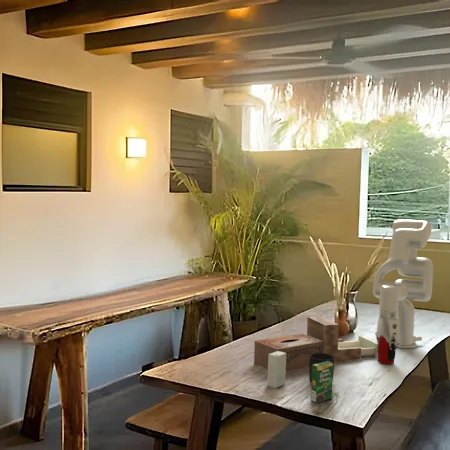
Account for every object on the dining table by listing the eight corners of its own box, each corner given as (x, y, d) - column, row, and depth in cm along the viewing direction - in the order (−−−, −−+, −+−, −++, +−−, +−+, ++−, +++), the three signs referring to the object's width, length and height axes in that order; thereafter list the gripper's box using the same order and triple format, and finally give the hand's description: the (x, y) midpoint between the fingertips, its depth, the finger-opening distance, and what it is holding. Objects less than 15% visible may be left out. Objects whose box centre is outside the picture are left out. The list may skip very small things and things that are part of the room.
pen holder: (338, 384, 218) (339, 358, 218) (320, 388, 213) (321, 361, 213) (321, 376, 226) (322, 351, 226) (303, 380, 221) (304, 354, 221)
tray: (362, 347, 269) (362, 335, 268) (380, 356, 255) (381, 343, 254) (326, 350, 262) (326, 337, 262) (343, 359, 248) (343, 346, 248)
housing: (341, 349, 266) (343, 315, 265) (360, 359, 251) (362, 323, 250) (306, 352, 260) (307, 316, 259) (323, 362, 245) (324, 325, 244)
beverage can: (394, 366, 243) (396, 338, 242) (378, 364, 244) (379, 336, 243) (393, 361, 249) (394, 334, 248) (377, 360, 251) (378, 332, 250)
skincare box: (276, 381, 219) (277, 350, 218) (285, 384, 216) (287, 352, 215) (266, 385, 214) (267, 353, 213) (276, 388, 211) (277, 356, 210)
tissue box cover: (276, 374, 229) (277, 349, 228) (253, 364, 240) (254, 340, 240) (323, 364, 243) (324, 340, 243) (300, 355, 255) (300, 333, 254)
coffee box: (315, 404, 197) (317, 366, 196) (309, 401, 200) (311, 363, 199) (332, 399, 202) (334, 362, 201) (326, 397, 204) (328, 360, 203)
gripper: (408, 318, 238) (406, 361, 239) (383, 309, 255) (381, 349, 256) (392, 319, 236) (390, 362, 237) (369, 310, 252) (367, 350, 253)
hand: (386, 355), depth 246 cm, fingers closed on beverage can, 6 cm apart
